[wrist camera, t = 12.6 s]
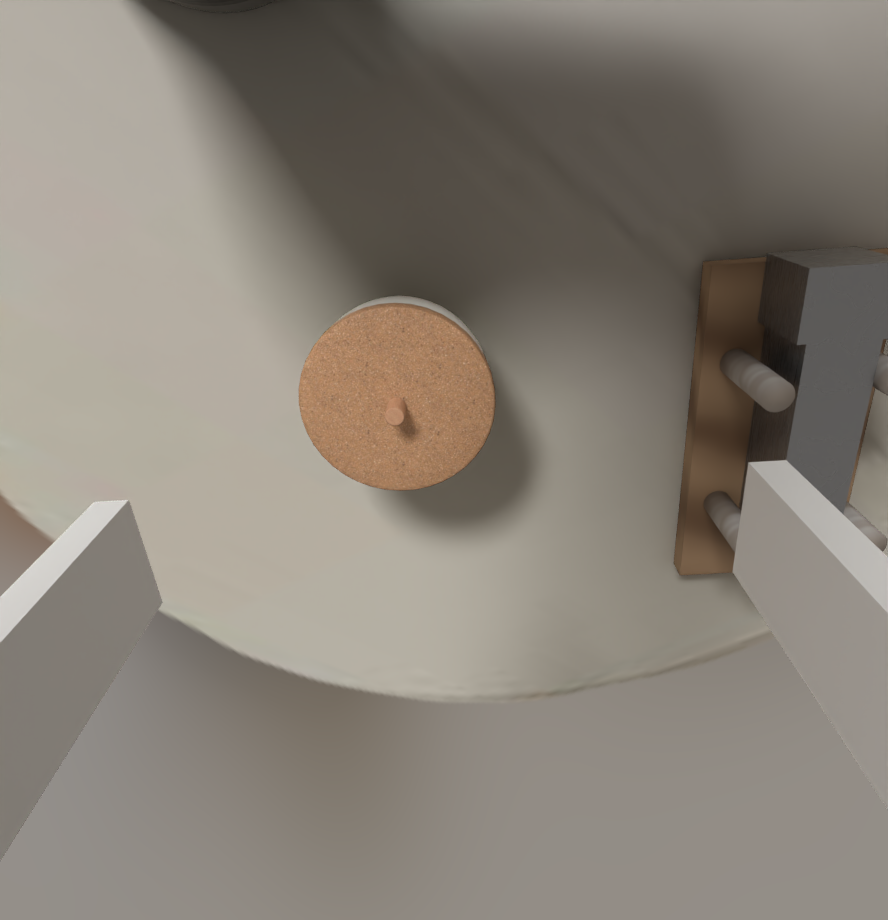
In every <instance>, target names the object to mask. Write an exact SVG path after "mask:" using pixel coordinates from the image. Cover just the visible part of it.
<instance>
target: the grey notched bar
mask: <svg viewBox="0 0 888 920" xmlns="http://www.w3.org/2000/svg"><path fill="white" fill-rule="evenodd" d="M757 322H759V323H760V324H762V325H764V326H765V330H764V337H763V344H762V351H761V358H760V362H761V363H763V364H764V365H765V366H767V367H768V368H770V369H771V370H772V371H774V372H775V373H777V374H778V375H779V376H781V377H782V378H784V379H785V380H786V381H788V382H789V383H791V384H792V385H793V387H794V389H795V398H794V400H793V402H792V404H791V405H790V406H789V407H788V408H786V409H785V410H783V411H780V412H769V411H767V410H765V409H764V408H763V407H762V406H761V405H760V404H758V403H757V402H756V401H755V400H754V406H753V413H752V420H751V427H750V434H749V441H748V448H747V455H746V462H745V469H744V476H743V483H742V489H741V496H740V503H739V509H740V510H742V503H743V496H744V489H745V483H746V476H747V469H748V462H763V461H780V460H787V461H788V462H789V463H790V464H791V465H792V466H793V467H794V468H795V469H796V470H797V471H798V472H799V473H800V474H801V475H802V476H803V477H804V478H805V479H807V480H808V481H809V482H810V483H811V484H812V485H813V486H814V487H815V488H816V489H817V490H818V491H819V492H820V493H821V494H822V495H823V496H824V497H825V498H826V499H827V500H829V501H830V502H831V503H832V504H833V505H834V506H835V507H836V508H837V509H838V510H839V511H840V512H841V513H842V514H844V509H845V505H846V501H847V496H848V492H849V487H850V483H851V479H852V474H853V470H854V465H855V461H856V457H857V452H858V448H859V443H860V439H861V435H862V430H863V426H864V421H865V417H866V413H867V408H868V404H869V399H870V395H871V391H872V386H873V382H874V377H875V373H876V368H877V364H878V360H879V355H880V351H881V346H882V342H883V339H888V255H886V254H882V253H878V252H875V251H871V250H867V249H863V248H859V247H843V248H829V249H816V250H802V251H788V252H775V253H767V256H766V263H765V270H764V277H763V285H762V292H761V299H760V306H759V313H758V321H757Z"/></svg>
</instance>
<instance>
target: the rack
mask: <svg viewBox="0 0 888 920" xmlns="http://www.w3.org/2000/svg"><path fill="white" fill-rule="evenodd" d="M867 250H871V251H875V252H878V253H882V254H886V255H888V248H881V249H867ZM765 263H766V257H758V258H745V259H731V260H717V261H704V262H703V269H702V279H701V289H700V299H699V310H698V320H697V330H696V340H695V351H694V361H693V371H692V381H691V391H690V402H689V412H688V422H687V432H686V442H685V453H684V463H683V473H682V483H681V494H680V504H679V514H678V524H677V534H676V545H675V555H674V565H675V567H676V569H677V571H678V572H679V574H680V575H693V574H712V573H731V572H732V571H733V564H734V558H735V551H736V544H737V537H738V530H739V524H740V517H741V510H740V509H739V503H740V496H741V489H742V483H743V476H744V469H745V462H746V455H747V448H748V441H749V434H750V427H751V420H752V413H753V406H754V400H755V401H756V402H757V403H758V404H760V405H761V406H762V407H763V408H764V409H765V410H767V411H769V412H780V411H783V410H785V409H786V408H788V407H789V406H790V405H791V404H792V402H793V400H794V398H795V389H794V387H793V385H792V384H791V383H789V382H788V381H786V380H785V379H784V378H782V377H781V376H779V375H778V374H777V373H775V372H774V371H772V370H771V369H770V368H768V367H767V366H765V365H764V364H763V363H761V362H760V358H761V351H762V344H763V337H764V330H765V326H764V325H762V324H760V323H759V322H757V321H758V313H759V306H760V299H761V292H762V285H763V277H764V270H765ZM885 342H886V339H883V342H882V346H881V351H880V355H879V360H878V364H877V368H876V373H875V377H874V382H873V386H872V391H871V395H870V399H869V404H868V408H867V413H866V417H865V421H864V426H863V430H862V435H861V439H860V443H859V448H858V452H857V457H856V461H855V465H854V470H853V474H852V479H851V483H850V487H849V492H848V496H847V501H846V505H845V509H844V514H843V515H844V516H845V517H846V518H847V519H848V520H849V521H851V522H852V523H853V524H854V525H855V526H856V527H857V528H858V529H859V530H860V531H861V532H862V533H863V534H864V535H865V536H866V537H867V538H868V539H869V540H870V541H871V542H873V543H874V544H875V545H876V546H877V547H878V548H879V549H880V550H881V551H883V550H884V549H885V548H886V545H887V538H886V537H885V535H883V534H882V533H881V532H880V531H879V530H878V529H877V528H876V527H875V526H874V525H872V524H871V523H870V522H869V521H868V520H867V519H866V518H865V517H864V516H863V515H862V514H860V513H859V512H858V511H857V510H856V509H855V508H854V507H853V506H852V505H851V504H849V500H850V495H851V491H852V486H853V482H854V478H855V473H856V469H857V465H858V460H859V456H860V452H861V447H862V443H863V438H864V434H865V430H866V425H867V421H868V417H869V412H870V408H871V404H872V399H873V395H874V390H875V388H876V389H878V390H879V391H881V392H883V393H884V394H886V395H888V356H887V355H885V354H883V351H884V347H885Z"/></svg>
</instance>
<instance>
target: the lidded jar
mask: <svg viewBox="0 0 888 920" xmlns="http://www.w3.org/2000/svg"><path fill="white" fill-rule="evenodd" d="M299 406H300V411H301V417H302V420H303V423H304V426H305V428H306V431H307V433H308V435H309V437H310V439H311V440H312V442H313V444H314V446H315V447H316V448H317V449H318V451H319V452H320V453H321V455H322V456H323V457H324V458H325V459H326V460H327V461H328V462H329V463H330V464H331V465H332V466H334V467H335V468H336V469H338V470H339V471H340V472H342V473H343V474H345V475H346V476H348V477H350V478H352V479H354V480H356V481H358V482H361V483H363V484H366V485H369V486H372V487H376V488H381V489H386V490H399V491H402V490H415V489H420V488H425V487H429V486H432V485H435V484H438V483H440V482H443V481H445V480H447V479H448V478H450V477H452V476H454V475H455V474H457V473H458V472H459V471H461V470H462V469H463V468H465V467H466V466H467V465H468V464H469V463H470V462H471V461H472V460H473V459H474V458H475V457H476V455H477V454H478V453H479V451H480V450H481V448H482V447H483V446H484V444H485V442H486V439H487V437H488V435H489V433H490V430H491V427H492V424H493V420H494V414H495V406H496V402H495V387H494V383H493V378H492V373H491V370H490V368H489V365H488V363H487V360H486V358H485V356H484V353H483V351H482V348H481V346H480V345H479V343H478V341H477V340H476V338H475V336H474V335H473V334H472V332H471V331H470V330H469V329H468V327H467V326H466V325H465V324H464V323H463V322H462V321H461V320H460V319H459V318H458V317H456V316H455V315H454V314H453V313H451V312H450V311H448V310H447V309H445V308H443V307H442V306H440V305H438V304H435V303H433V302H430V301H428V300H424V299H420V298H416V297H409V296H389V297H382V298H378V299H374V300H371V301H368V302H366V303H364V304H361V305H359V306H357V307H355V308H354V309H352V310H351V311H349V312H348V313H346V314H344V315H343V316H342V317H341V318H340V319H339V320H337V321H336V322H335V323H334V324H333V325H332V326H331V327H330V328H329V329H328V330H327V331H325V332H324V334H323V335H322V336H321V337H320V339H319V340H318V341H317V342H316V344H315V345H314V346H313V348H312V350H311V352H310V354H309V356H308V357H307V359H306V361H305V364H304V367H303V370H302V373H301V378H300V385H299Z"/></svg>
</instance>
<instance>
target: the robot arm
mask: <svg viewBox="0 0 888 920" xmlns="http://www.w3.org/2000/svg"><path fill="white" fill-rule="evenodd" d="M169 1H171V2H174V3H176V4H179V5H182V6H185V7H188V8H192V9H197V10H201V11H208V12H222V13H225V12H238V11H245V10H250V9H254V8H257V7H260V6H263V5H266V4H268V3H271V2H273V1H275V0H169ZM732 572H733V573H734V575H735V576H736V578H737V580H738V581H739V583H740V584H741V586H742V587H743V589H744V590H745V592H746V593H747V595H748V596H749V598H750V599H751V601H752V603H753V604H754V606H755V607H756V609H757V610H758V612H759V613H760V615H761V616H762V618H763V619H764V621H765V622H766V624H767V626H768V627H769V629H770V630H771V632H772V633H773V635H774V636H775V638H776V639H777V641H778V642H779V644H780V645H781V647H782V649H783V650H784V652H785V653H786V655H787V656H788V658H789V659H790V661H791V662H792V664H793V665H794V667H795V669H796V670H797V671H798V673H799V675H800V676H801V678H802V679H803V681H804V682H805V684H806V685H807V687H808V688H809V690H810V691H811V693H812V695H813V696H814V698H815V699H816V701H817V702H818V704H819V705H820V707H821V708H822V710H823V711H824V713H825V715H826V716H827V718H828V719H829V721H830V722H831V724H832V725H833V727H834V728H835V730H836V731H837V733H838V734H839V736H840V737H841V739H842V741H843V742H844V744H845V745H846V747H847V748H848V750H849V751H850V753H851V754H852V756H853V757H854V759H855V761H856V762H857V764H858V765H859V767H860V768H861V770H862V771H863V773H864V774H865V776H866V777H867V779H868V780H869V782H870V784H871V785H872V787H873V788H874V790H875V791H876V793H877V794H878V796H879V797H880V799H881V800H882V802H883V803H884V805H885V807H886V808H887V810H888V557H887V556H886V555H885V554H884V553H883V552H882V551H881V550H880V549H879V548H878V547H877V546H876V545H875V544H874V543H873V542H871V541H870V540H869V539H868V538H867V537H866V536H865V535H864V534H863V533H862V532H861V531H860V530H859V529H858V528H857V527H856V526H855V525H854V524H853V523H852V522H851V521H849V520H848V519H847V518H846V517H845V516H844V515H843V514H842V513H841V512H840V511H839V510H838V509H837V508H836V507H835V506H834V505H833V504H832V503H831V502H830V501H829V500H827V499H826V498H825V497H824V496H823V495H822V494H821V493H820V492H819V491H818V490H817V489H816V488H815V487H814V486H813V485H812V484H811V483H810V482H809V481H808V480H807V479H805V478H804V477H803V476H802V475H801V474H800V473H799V472H798V471H797V470H796V469H795V468H794V467H793V466H792V465H791V464H790V463H789V462H788V461H787V460H780V461H763V462H748V469H747V476H746V483H745V489H744V496H743V503H742V510H741V517H740V524H739V530H738V537H737V544H736V551H735V558H734V564H733V571H732ZM161 604H162V599H161V596H160V593H159V590H158V587H157V584H156V581H155V578H154V575H153V572H152V569H151V566H150V563H149V560H148V557H147V554H146V550H145V547H144V544H143V541H142V538H141V535H140V532H139V529H138V526H137V523H136V520H135V517H134V514H133V511H132V508H131V505H130V502H129V500H118V501H102V502H94V503H93V504H92V505H91V506H90V507H89V508H88V509H87V510H86V511H85V512H84V513H83V514H82V515H81V516H80V517H79V518H78V519H77V520H76V521H75V522H74V523H73V524H72V525H71V526H70V527H69V528H68V529H67V530H66V531H65V532H64V533H63V534H62V535H61V536H60V537H59V538H58V539H57V540H56V541H55V542H54V543H53V544H52V545H51V546H50V547H49V548H48V549H47V550H46V551H45V552H44V553H43V554H42V555H41V556H40V557H39V558H38V559H37V560H36V561H35V562H34V563H33V564H32V565H31V566H30V567H29V568H28V569H27V570H26V571H25V573H23V574H22V575H21V576H20V577H19V579H17V580H16V581H15V583H13V584H12V585H11V586H10V587H9V589H8V590H7V591H6V592H5V593H4V594H3V595H2V596H1V597H0V861H1V859H2V858H3V856H4V854H5V853H6V851H7V850H8V848H9V846H10V845H11V843H12V842H13V840H14V839H15V837H16V835H17V834H18V832H19V831H20V829H21V827H22V826H23V824H24V822H25V821H26V819H27V818H28V816H29V814H30V813H31V811H32V810H33V808H34V807H35V805H36V803H37V802H38V800H39V798H40V797H41V795H42V794H43V792H44V791H45V789H46V787H47V786H48V784H49V782H50V781H51V779H52V778H53V776H54V775H55V773H56V771H57V770H58V768H59V766H60V765H61V764H62V762H63V760H64V759H65V757H66V756H67V754H68V752H69V751H70V749H71V748H72V746H73V744H74V743H75V741H76V740H77V738H78V736H79V735H80V733H81V732H82V730H83V728H84V727H85V725H86V724H87V722H88V720H89V719H90V717H91V715H92V714H93V712H94V711H95V709H96V708H97V706H98V704H99V703H100V701H101V699H102V698H103V696H104V695H105V693H106V692H107V690H108V689H109V687H110V685H111V684H112V682H113V681H114V679H115V677H116V675H117V674H118V672H119V671H120V669H121V668H122V666H123V665H124V663H125V661H126V660H127V658H128V657H129V655H130V653H131V652H132V650H133V649H134V647H135V645H136V644H137V642H138V641H139V639H140V637H141V636H142V634H143V633H144V631H145V629H146V628H147V626H148V625H149V623H150V621H151V620H152V618H153V617H154V615H155V613H156V612H157V610H158V609H159V607H160V606H161Z"/></svg>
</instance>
